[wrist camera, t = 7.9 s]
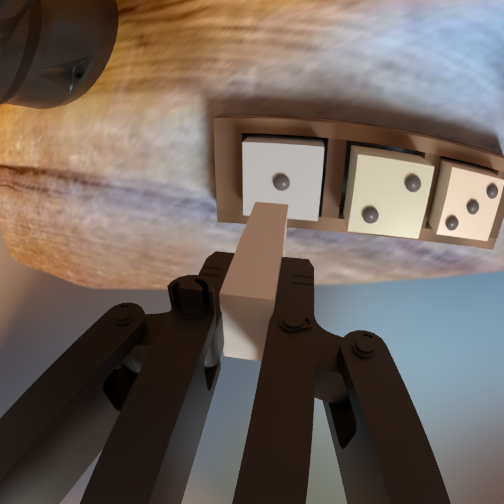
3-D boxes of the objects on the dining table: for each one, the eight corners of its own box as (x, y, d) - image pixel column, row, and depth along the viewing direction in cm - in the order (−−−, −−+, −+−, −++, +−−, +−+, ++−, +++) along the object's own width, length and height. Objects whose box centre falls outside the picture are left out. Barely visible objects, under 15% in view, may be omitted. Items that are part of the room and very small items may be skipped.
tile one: (250, 200, 26) (242, 216, 24) (250, 135, 23) (241, 142, 21) (316, 205, 26) (317, 222, 23) (322, 139, 23) (324, 147, 20)
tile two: (343, 213, 24) (347, 232, 21) (351, 145, 21) (358, 154, 18) (407, 220, 23) (418, 240, 21) (419, 155, 20) (435, 167, 18)
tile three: (424, 217, 24) (437, 235, 21) (436, 156, 21) (453, 167, 18) (472, 225, 23) (488, 242, 21) (487, 168, 20) (506, 181, 18)
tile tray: (224, 210, 29) (217, 221, 26) (221, 114, 24) (213, 118, 22) (482, 237, 25) (492, 249, 23) (503, 155, 20) (517, 163, 18)
